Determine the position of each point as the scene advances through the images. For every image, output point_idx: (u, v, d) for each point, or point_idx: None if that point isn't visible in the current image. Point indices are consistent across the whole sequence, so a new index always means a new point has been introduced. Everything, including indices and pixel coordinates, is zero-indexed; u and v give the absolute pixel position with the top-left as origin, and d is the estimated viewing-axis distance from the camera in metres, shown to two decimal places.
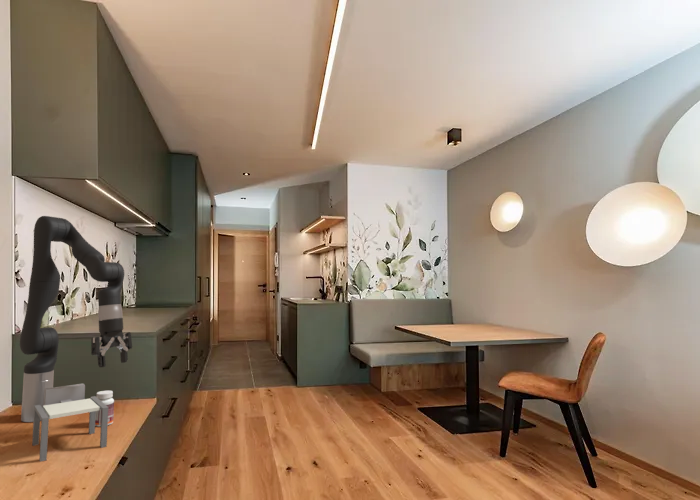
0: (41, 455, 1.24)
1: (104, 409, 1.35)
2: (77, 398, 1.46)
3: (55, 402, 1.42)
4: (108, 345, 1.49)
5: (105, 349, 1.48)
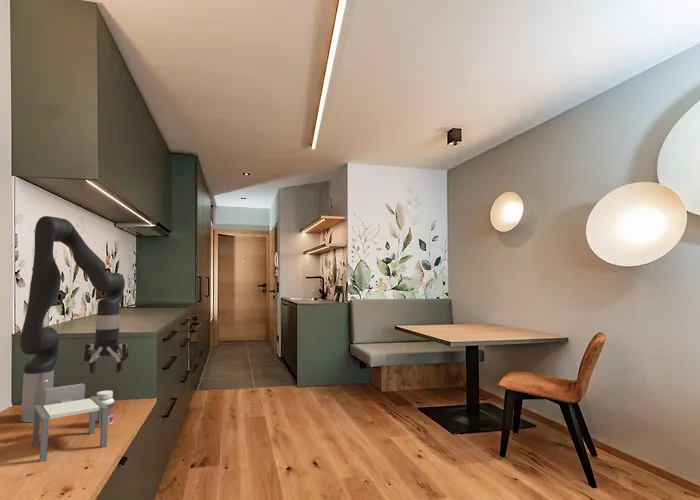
0: (41, 455, 1.24)
1: (104, 409, 1.35)
2: (77, 398, 1.46)
3: (55, 402, 1.42)
4: (96, 354, 1.55)
5: (93, 357, 1.55)
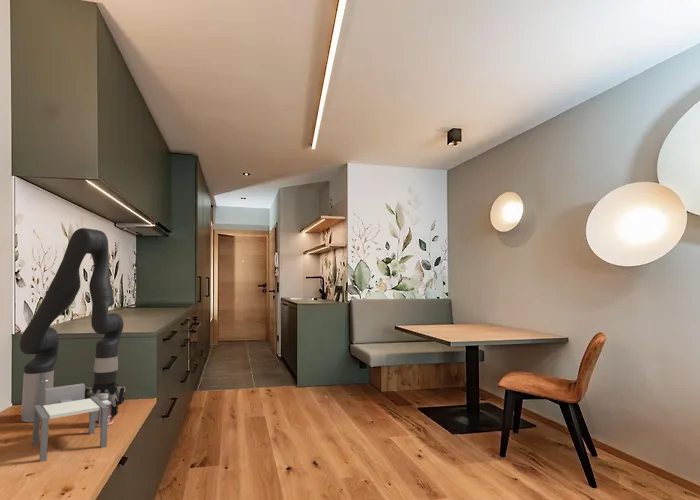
0: (41, 455, 1.24)
1: (104, 409, 1.35)
2: (77, 398, 1.46)
3: (55, 402, 1.42)
4: None
5: None
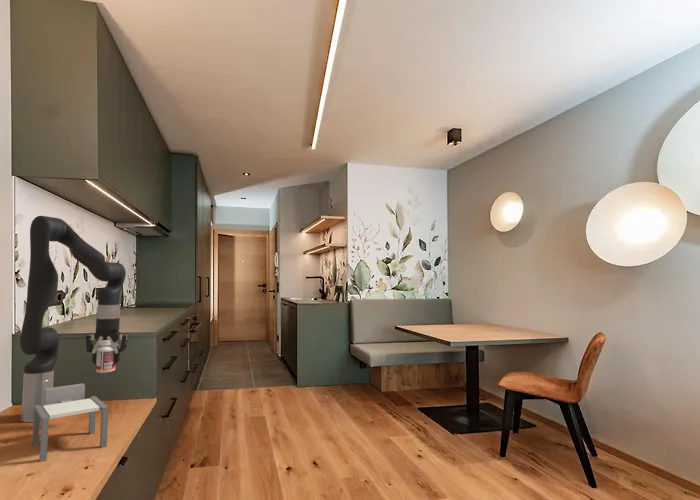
0: (41, 455, 1.24)
1: (104, 409, 1.35)
2: (77, 398, 1.46)
3: (55, 402, 1.42)
4: (97, 344, 1.55)
5: (95, 347, 1.55)
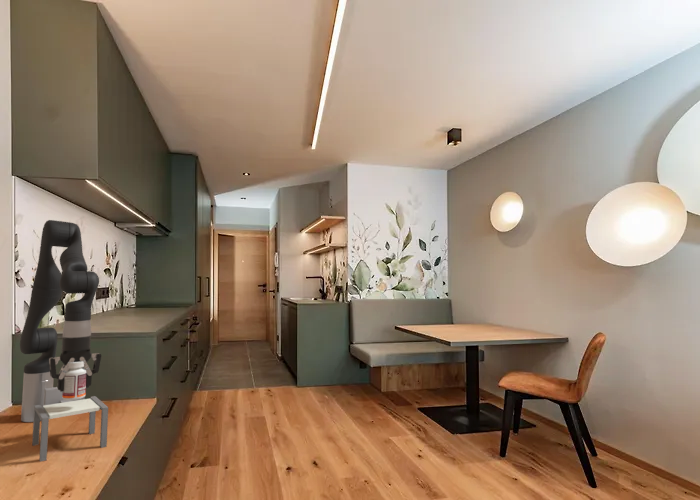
0: (41, 455, 1.24)
1: (104, 409, 1.35)
2: None
3: (55, 402, 1.42)
4: (67, 367, 1.32)
5: (64, 372, 1.32)
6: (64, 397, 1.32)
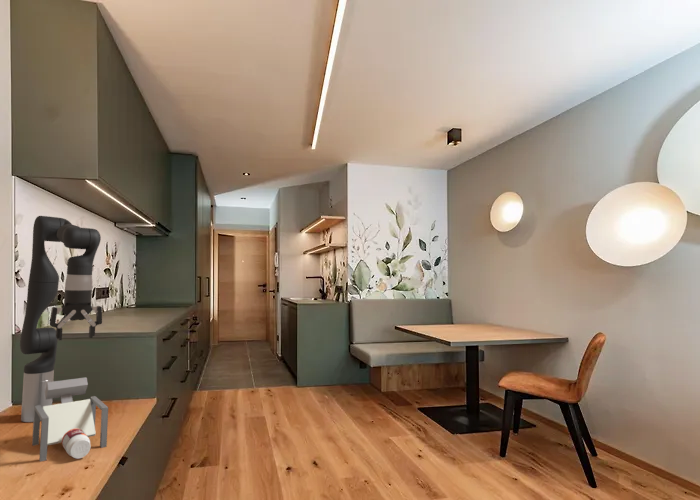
0: (41, 455, 1.24)
1: (104, 409, 1.35)
2: (78, 393, 1.45)
3: (56, 396, 1.41)
4: (67, 318, 1.38)
5: (63, 322, 1.37)
6: (62, 444, 1.31)
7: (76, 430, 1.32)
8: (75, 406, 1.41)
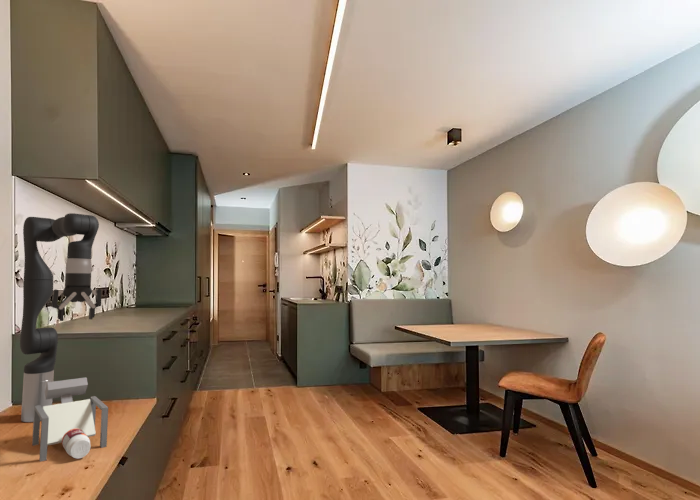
0: (41, 455, 1.24)
1: (104, 409, 1.35)
2: (78, 393, 1.45)
3: (56, 396, 1.41)
4: (68, 299, 1.44)
5: (64, 303, 1.44)
6: (62, 444, 1.31)
7: (76, 430, 1.32)
8: (75, 406, 1.41)
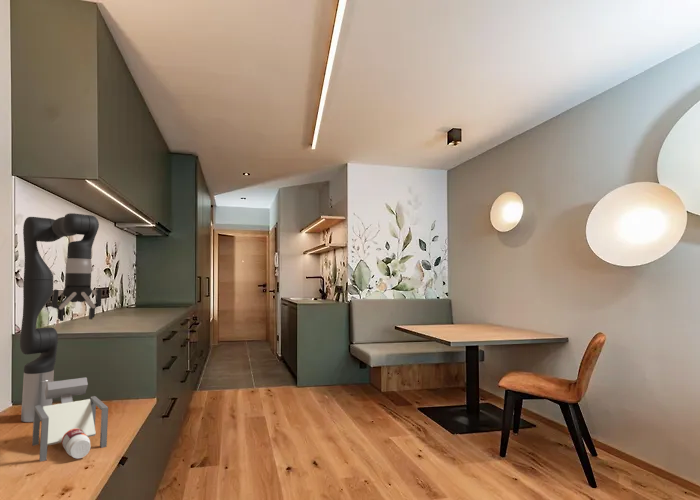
0: (41, 455, 1.24)
1: (104, 409, 1.35)
2: (78, 393, 1.45)
3: (56, 396, 1.41)
4: (68, 299, 1.44)
5: (64, 303, 1.44)
6: (62, 444, 1.31)
7: (76, 430, 1.32)
8: (75, 406, 1.41)
